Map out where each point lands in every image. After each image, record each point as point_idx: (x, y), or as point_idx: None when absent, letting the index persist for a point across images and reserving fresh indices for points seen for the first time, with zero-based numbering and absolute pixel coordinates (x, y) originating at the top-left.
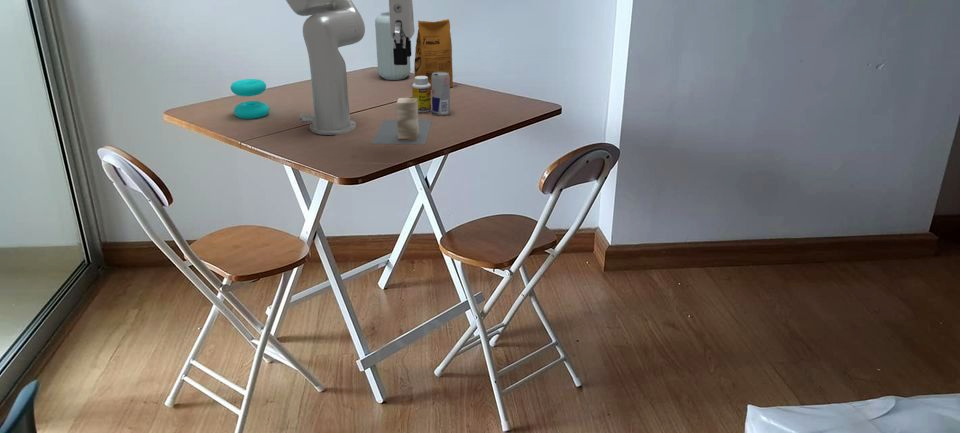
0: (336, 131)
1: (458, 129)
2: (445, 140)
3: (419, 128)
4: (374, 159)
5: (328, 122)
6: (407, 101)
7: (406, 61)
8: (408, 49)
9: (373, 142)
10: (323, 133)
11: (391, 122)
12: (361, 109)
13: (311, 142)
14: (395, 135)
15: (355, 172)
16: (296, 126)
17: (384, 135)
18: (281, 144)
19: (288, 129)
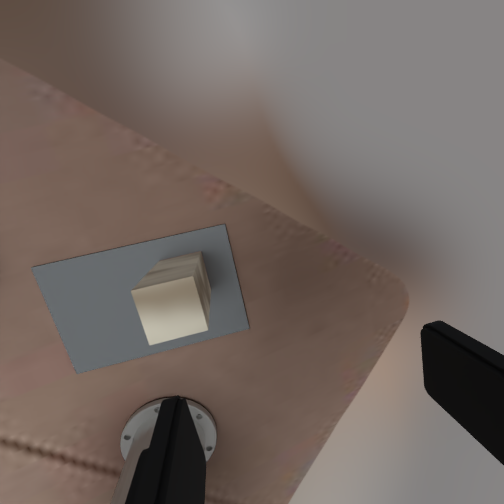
0: (208, 417)
1: (77, 180)
2: (175, 189)
3: (116, 273)
4: (324, 290)
5: (203, 448)
6: (181, 305)
7: (455, 332)
8: (180, 454)
9: (241, 328)
10: (216, 434)
11: (93, 349)
12: (8, 452)
13: (259, 428)
14: None
15: (389, 294)
16: None
17: None
18: (280, 464)
19: None
